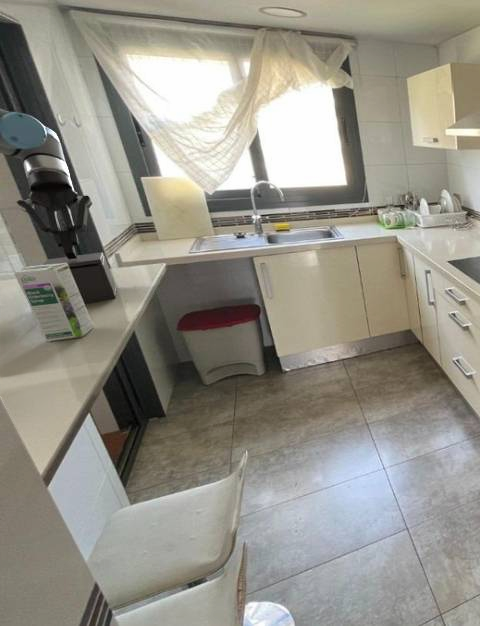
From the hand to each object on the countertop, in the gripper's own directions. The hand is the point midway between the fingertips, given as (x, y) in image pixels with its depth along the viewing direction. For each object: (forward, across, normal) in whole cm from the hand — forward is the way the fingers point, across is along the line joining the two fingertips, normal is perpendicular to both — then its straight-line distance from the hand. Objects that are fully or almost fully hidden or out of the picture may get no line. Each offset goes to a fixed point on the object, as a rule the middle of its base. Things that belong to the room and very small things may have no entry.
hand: (70, 255), depth 110 cm
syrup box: (+27, +2, +11) cm, 30 cm away
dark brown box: (+6, 0, -10) cm, 12 cm away
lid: (0, 0, -3) cm, 3 cm away
